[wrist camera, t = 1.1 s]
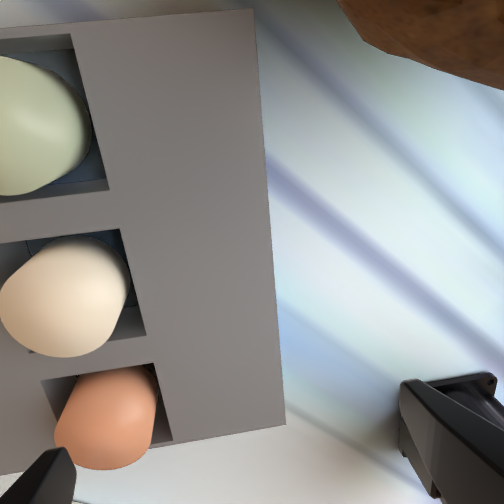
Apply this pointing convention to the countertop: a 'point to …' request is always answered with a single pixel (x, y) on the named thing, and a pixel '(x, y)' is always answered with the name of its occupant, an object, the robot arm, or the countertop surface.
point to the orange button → (109, 418)
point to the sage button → (38, 127)
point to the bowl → (437, 34)
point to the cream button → (66, 297)
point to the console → (159, 229)
